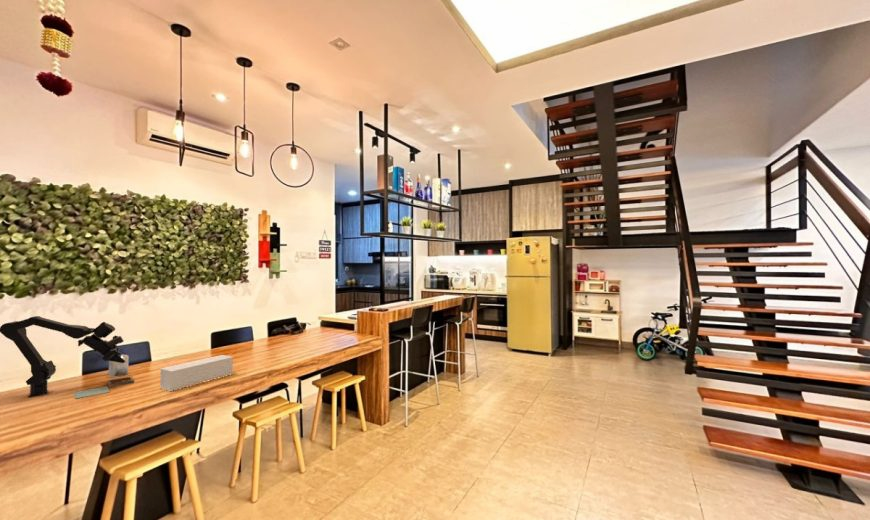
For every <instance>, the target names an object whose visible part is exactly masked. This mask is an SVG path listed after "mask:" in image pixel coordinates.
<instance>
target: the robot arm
mask: <svg viewBox="0 0 870 520" xmlns="http://www.w3.org/2000/svg"><path fill="white" fill-rule="evenodd" d="M31 326H37V327H39V328H40V327H41V328H45V329H49V330H52V331H56V332H60V333H62V334H64V335H65V336H67V337H70V338H71V339H75V340H76V339H77V340H78V339H79V340H78V341H77V346H78V347H81V345H83V344H84V345H85V346H87V347H89V348H90V349H92V350H93V351H94V352H97V353H99V354H100V355H101V357H102V360H103V361H104V362H107V361H108V362H109V361H114V362H120V363H124V362H125V360H124V359H123V358H121V357H120V355H122V354H121V353H120V351H119V347H118V345H119V344H121V343H124V339H123V337H122V336H121V335H119V336H118V335H114V336H112V339H110V340H106V338H107V337H108V336H110V335H111V334H112V333H113V332H115V331H116V328H115V326H113V325H112V324H109V323H108V322H105V321H103V322H100V324H99V325H97V326H96V327H95V328H94V327H93V328H92V327H88V326H86V325H79V324H68V323H65V322H60V321H56V320H53V319H50V318H46V317H42V316H40V315H36V316H35V315H34V316H30V317H28V318H25V319H22V320H19V321H18V320H15V321H11V322H6V323H4V324H2V325H1V326H0V334H2V336H4V338H6V339H8V340H10V341H12V342H13V343H14V344H15V346H16V347H17V349H18V350H19V351H20V353H21V354H22V356H23V357H24V358H25V360H26V361H27V363H28V364H29V365H30V373H31V374H32V376H30V377H29V378H28V379H26V380H25V383H26V384H27V386H29V393H28V398H32V396H33V397H37V396H43V395H49V389H48V380H50V379H51V377H52V376H53V375H54V374H55V373H56V371H57V369H56V367H57V366H56V364H55V363H54V362H53V360H45V359H44V358H43V357H42V355H41V354H40V352H39V351H38V350H37V349H36V347H35V345H34V344H33V343H32V341H31V340H30V338H29V337H28V336H27V334H28V333H27V329H26V328H29V327H31ZM83 337H84V338H83ZM81 338H82V339H81ZM102 338H103V339H102ZM104 339H105V340H104Z"/></svg>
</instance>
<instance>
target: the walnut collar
mask: <svg viewBox="0 0 870 520" xmlns="http://www.w3.org/2000/svg"><path fill="white" fill-rule="evenodd" d="M134 383H135V379H134V378H133V376H124V377H120V378H114V379H110V380H107V386H108V388H109V387H110V388H114V387H119V386H125V385H131V384H134Z"/></svg>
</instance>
